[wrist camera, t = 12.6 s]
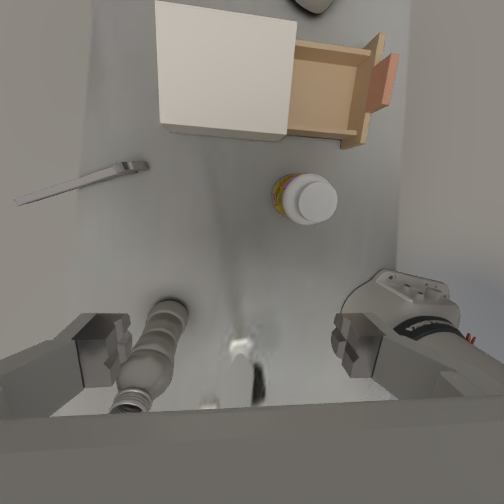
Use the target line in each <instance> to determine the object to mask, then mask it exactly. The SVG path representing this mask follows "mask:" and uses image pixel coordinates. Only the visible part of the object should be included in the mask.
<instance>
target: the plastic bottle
mask: <svg viewBox="0 0 504 504" xmlns="http://www.w3.org/2000/svg"><path fill="white" fill-rule="evenodd" d="M187 321H188V318H187V311H186V309H185V308H184V307H183V306H182V305H181V304H180V303H178V302H175V301H162V302H160V303H158V304H156V305H155V306H154V307H153V308H152V309H151V310H150V312H149V314H148V317H147V320H146V325H145V328H144V330H143V333H142V335H141V337H140V338H139V340H138V341H137V343H136V344H135V346H134V347H133V348H132V350H131V351H130V355H129V357H128V359H127V361H125V362H124V363H122V364H121V365H120V367H121V371H120V373H119V375H118V377H117V378H116V384H117V389H118V393H117V395H116V397H115V398H114V401H113V404H112V406H111V408H110V410H109V413H108V414H120V413H141V412H148V411H149V410H150V408H151V406H152V403H153V400H154V399H156V398H157V397H159V396H160V395H161V394H162V393H163V392H164V391H165V390H166V389H167V387H168V386H169V384H170V383H171V380H172V376H173V369H174V357H175V352H176V347H177V343H178V341H179V338H180V336H181V334H182V333H183V331H184V329H185V327H186V325H187Z"/></svg>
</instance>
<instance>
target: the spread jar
mask: <svg viewBox="0 0 504 504" xmlns="http://www.w3.org/2000/svg"><path fill="white" fill-rule="evenodd" d="M294 1H295V2H296V3H297V4H298V5H299V6H301V7H302V8H303V9H305V10H307V11H309V12H312V13H316V14H318V13H322V12H324V11H325V10H326V9H327V8H328V7H329V6H330V5H331V3H332V2H333V1H334V0H294Z"/></svg>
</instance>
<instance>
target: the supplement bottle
mask: <svg viewBox="0 0 504 504" xmlns="http://www.w3.org/2000/svg"><path fill="white" fill-rule="evenodd" d="M272 202H273V205H274V207H275V208H276V209H277V211H279V212H280V213H281V214H283V215H284V216H286V217H287V218H289V219H291V220H292V221H294V222H296V223H298V224H301V225H313V224H316V223H318V222H322V221H325V220H327V219H328V218H330V217H331V216H332V215H333V213H334V212H335V210H336V208H337V204H338V196H337V193H336V191H335V189H334V188H333V187H332V186H331V185H330V183H329V182H328V181H327V180H326V179H325V178H324V177H322V176H320V175H318V174H314V173H305V174H293V175H287V176H284V177H282V178H281V179H279V180H278V181H277V183H276V184H275V186H274V188H273V191H272Z"/></svg>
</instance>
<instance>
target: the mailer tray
mask: <svg viewBox="0 0 504 504" xmlns="http://www.w3.org/2000/svg"><path fill="white" fill-rule="evenodd" d="M385 35H386V33H382V32H380V33H378V34H377V35H376V36H375V37H374V38H373V39H372V40H371V41H370V42H369V43H368V44H367V45H366V46H365V47H364V48H363V49H359V48H352V47H345V46H338V45H331V44H324V43H317V42H310V41H303V40H296V41H295V51H294V62H293V72H292V83H291V93H290V103H289V114H288V124H287V135H297V136H308V137H319V138H330V139H341V140H342V142H341V148H340V149H347V148H351V147H355V146H358V145H362V144H365V143H366V138H367V133H368V128H369V122H370V117H371V113H373V112H376V111H378V110H380V109H382V108H384V107H386V106H388V105H389V104H390V99H391V94H392V89H393V84H394V80H395V75H396V70H397V65H398V60H399V54H392V53H391V54H390V55H389V56H387V57H386V58H385V59H383V60H382V61H381V57H382V52H383V46H384V41H385Z"/></svg>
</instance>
